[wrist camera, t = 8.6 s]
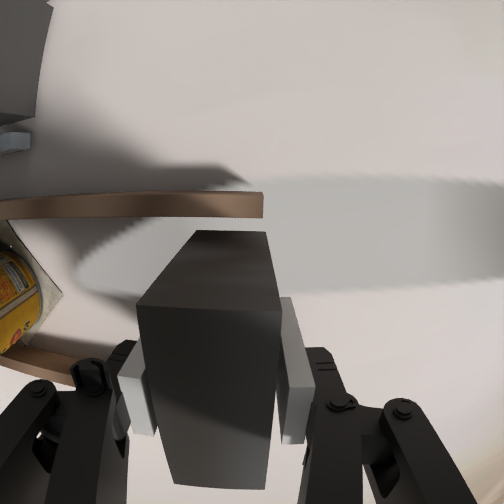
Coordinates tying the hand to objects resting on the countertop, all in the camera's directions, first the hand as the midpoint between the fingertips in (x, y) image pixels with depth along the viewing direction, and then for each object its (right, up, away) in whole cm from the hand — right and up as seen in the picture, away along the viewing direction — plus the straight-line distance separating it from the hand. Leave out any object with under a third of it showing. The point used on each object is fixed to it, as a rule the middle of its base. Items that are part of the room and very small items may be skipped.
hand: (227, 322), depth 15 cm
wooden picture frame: (-9, +1, +2) cm, 10 cm away
